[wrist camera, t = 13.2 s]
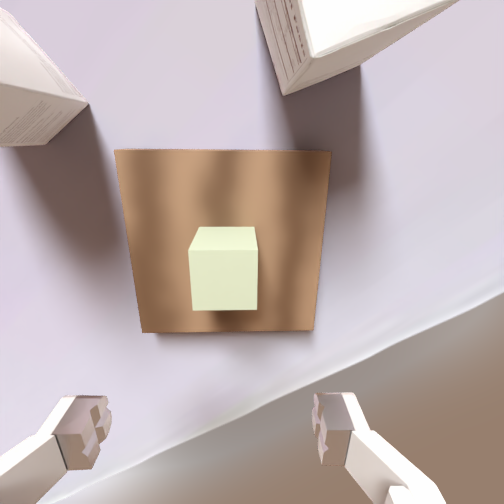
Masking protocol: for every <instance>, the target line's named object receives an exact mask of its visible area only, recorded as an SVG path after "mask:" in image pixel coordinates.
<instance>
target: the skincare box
mask: <svg viewBox="0 0 504 504" xmlns="http://www.w3.org/2000/svg"><path fill="white" fill-rule="evenodd" d="M87 105H88V102H87V100H86V99H85V98H84V97H83V95H82V94H81V93H80V92H79V91H78V90H77V88H76V87H75V86H74V85H73V84H72V83H71V82H70V81H69V79H68V78H67V77H66V76H65V75H64V74H63V72H62V71H61V70H60V69H59V68H58V67H57V65H56V64H55V63H54V62H53V61H52V60H51V59H50V58H49V56H48V55H47V54H46V53H45V52H44V51H43V50H42V48H41V47H40V46H39V45H38V44H37V43H36V42H35V41H34V40H33V39H32V37H31V36H30V35H29V34H28V33H27V32H26V31H25V30H24V29H23V28H22V27H21V26H20V24H19V23H18V22H17V21H16V20H15V18H14V17H13V16H12V15H11V14H10V13H9V12H7V11H5V10H4V9H2V8H0V147H9V146H33V145H46V144H47V143H48V142H49V141H50V140H51V139H52V138H53V137H54V136H55V135H56V134H57V133H58V132H59V131H61V130H62V129H63V128H64V127H65V126H66V125H67V124H68V123H69V122H70V121H71V120H72V119H73V118H74V117H76V116H77V115H78V114H79V113H80V112H81V111H82V110H83V109H84V108H85V107H86V106H87Z"/></svg>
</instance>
